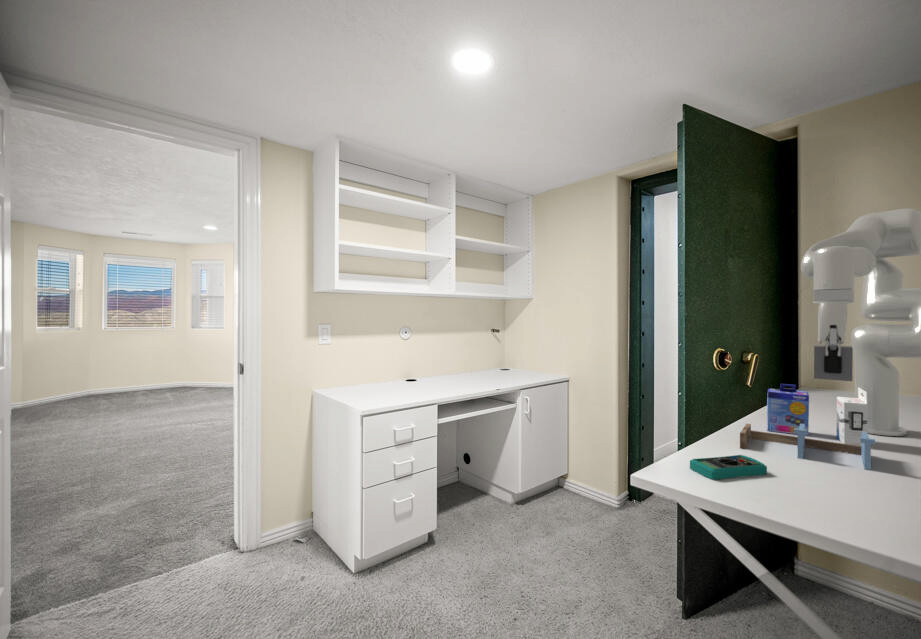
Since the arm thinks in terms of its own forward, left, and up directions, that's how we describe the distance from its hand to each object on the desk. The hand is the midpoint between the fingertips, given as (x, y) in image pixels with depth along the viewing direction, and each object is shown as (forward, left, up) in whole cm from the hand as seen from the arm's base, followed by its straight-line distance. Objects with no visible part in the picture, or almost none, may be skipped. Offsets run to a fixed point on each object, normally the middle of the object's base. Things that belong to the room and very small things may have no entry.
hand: (832, 370), depth 105 cm
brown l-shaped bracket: (0, -6, -21) cm, 22 cm away
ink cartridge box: (-20, -10, -22) cm, 31 cm away
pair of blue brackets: (0, 0, -21) cm, 21 cm away
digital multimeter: (+26, -18, -22) cm, 39 cm away
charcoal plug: (0, 0, -2) cm, 2 cm away
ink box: (-18, +4, -22) cm, 28 cm away
